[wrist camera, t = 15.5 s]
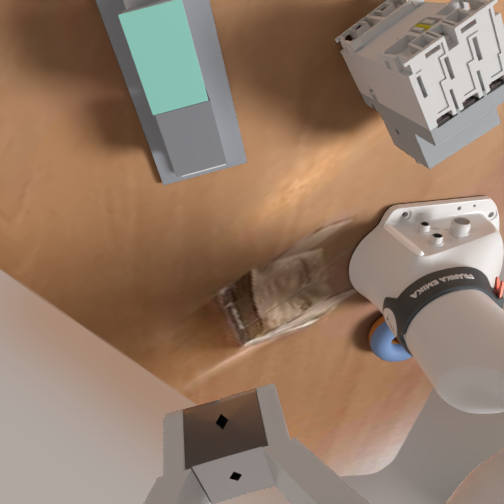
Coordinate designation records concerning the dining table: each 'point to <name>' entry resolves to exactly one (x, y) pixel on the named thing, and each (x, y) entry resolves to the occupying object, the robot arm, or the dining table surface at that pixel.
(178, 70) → the block
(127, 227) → the dining table surface
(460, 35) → the circuit breaker
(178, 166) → the rail assembly
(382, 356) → the doughnut
